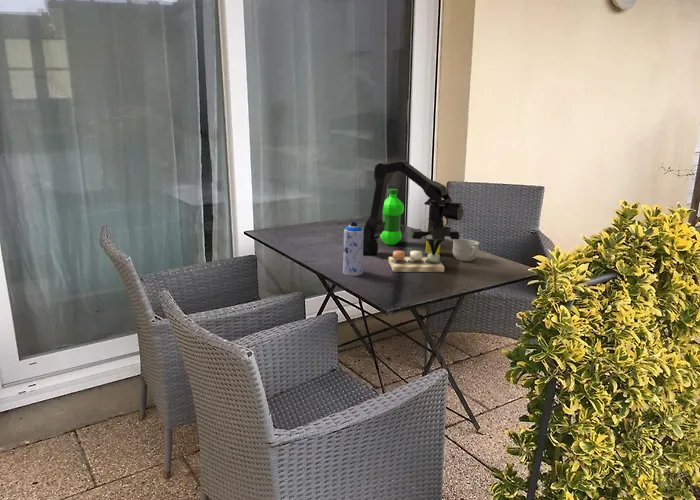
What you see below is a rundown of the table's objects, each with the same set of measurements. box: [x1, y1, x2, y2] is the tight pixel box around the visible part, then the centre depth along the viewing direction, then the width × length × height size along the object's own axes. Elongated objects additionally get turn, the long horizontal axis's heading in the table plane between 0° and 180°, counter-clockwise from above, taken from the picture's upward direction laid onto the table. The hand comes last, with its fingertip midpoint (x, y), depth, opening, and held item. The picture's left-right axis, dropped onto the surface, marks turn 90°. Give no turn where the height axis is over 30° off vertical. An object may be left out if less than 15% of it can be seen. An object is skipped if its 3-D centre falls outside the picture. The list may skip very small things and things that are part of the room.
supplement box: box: [425, 229, 441, 256], centre depth 259 cm, size 6×6×11 cm
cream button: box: [409, 250, 423, 260], centre depth 240 cm, size 5×5×2 cm
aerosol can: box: [342, 220, 364, 277], centre depth 229 cm, size 8×8×20 cm
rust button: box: [392, 250, 406, 260], centre depth 239 cm, size 5×5×2 cm
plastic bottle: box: [379, 188, 405, 246], centre depth 272 cm, size 10×10×25 cm
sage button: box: [426, 253, 440, 262], centre depth 241 cm, size 5×5×2 cm
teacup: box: [452, 238, 480, 262], centre depth 251 cm, size 14×11×8 cm
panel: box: [388, 256, 445, 273], centre depth 241 cm, size 20×14×2 cm
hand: (433, 254), depth 240 cm, fingers closed, pressing on sage button
